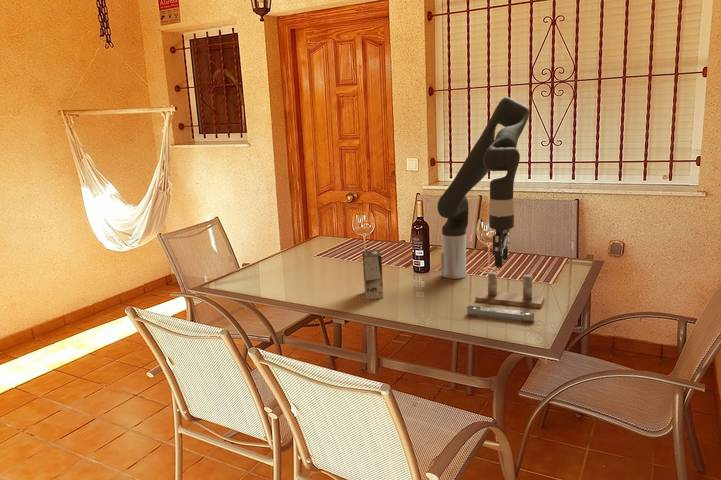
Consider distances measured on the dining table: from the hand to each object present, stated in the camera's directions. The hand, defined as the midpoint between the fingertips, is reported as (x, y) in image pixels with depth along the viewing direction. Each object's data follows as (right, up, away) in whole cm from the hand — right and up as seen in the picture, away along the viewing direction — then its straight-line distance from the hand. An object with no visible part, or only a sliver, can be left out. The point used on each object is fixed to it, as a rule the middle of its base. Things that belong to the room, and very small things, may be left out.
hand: (501, 263), depth 184 cm
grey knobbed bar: (+1, -18, +4) cm, 18 cm away
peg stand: (+7, -14, +18) cm, 24 cm away
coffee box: (-40, -13, +32) cm, 52 cm away
